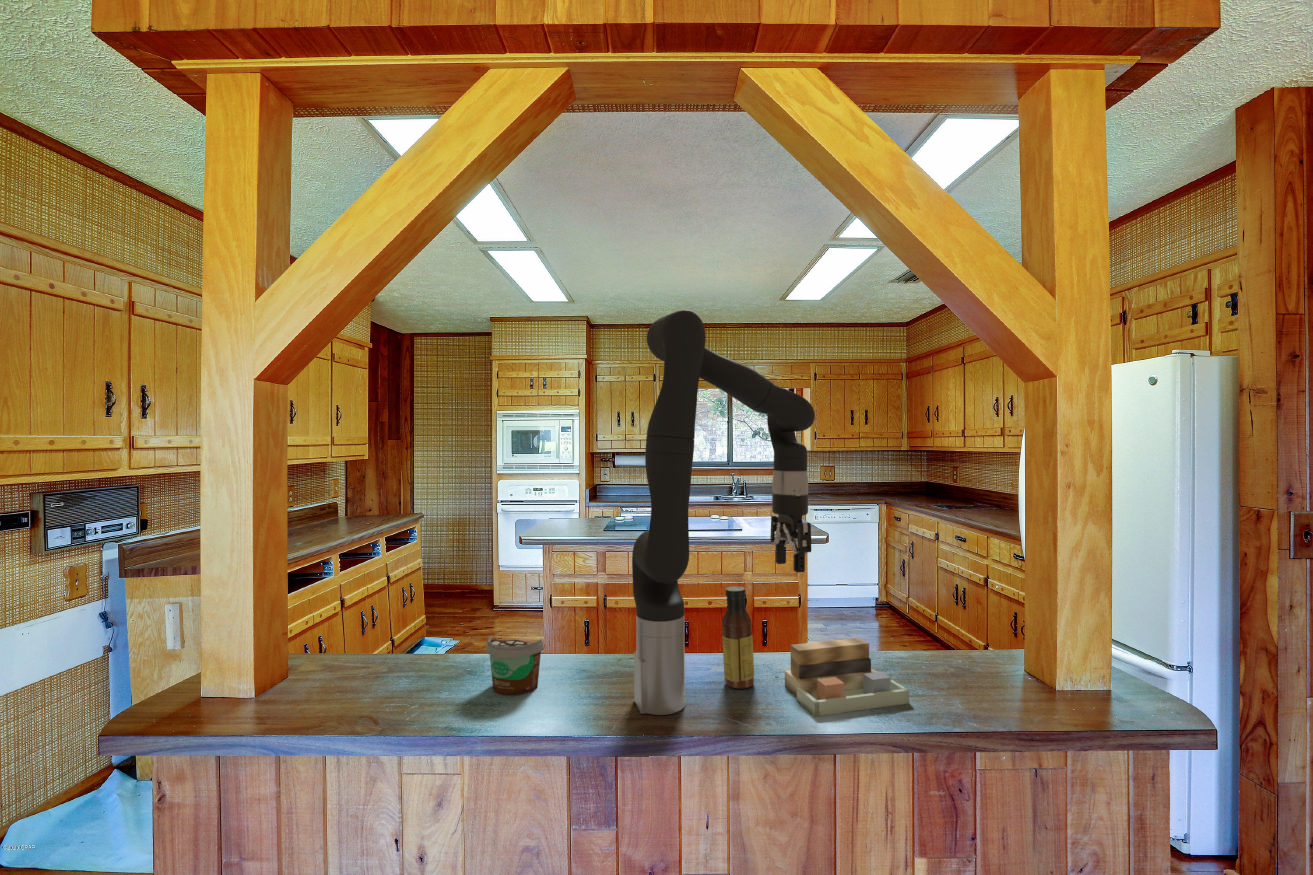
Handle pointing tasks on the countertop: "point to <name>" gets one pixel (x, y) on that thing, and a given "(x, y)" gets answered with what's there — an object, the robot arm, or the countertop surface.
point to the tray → (853, 700)
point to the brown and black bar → (830, 658)
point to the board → (810, 685)
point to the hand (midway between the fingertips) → (789, 567)
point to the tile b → (876, 682)
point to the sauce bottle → (737, 641)
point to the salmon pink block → (829, 688)
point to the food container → (514, 665)
